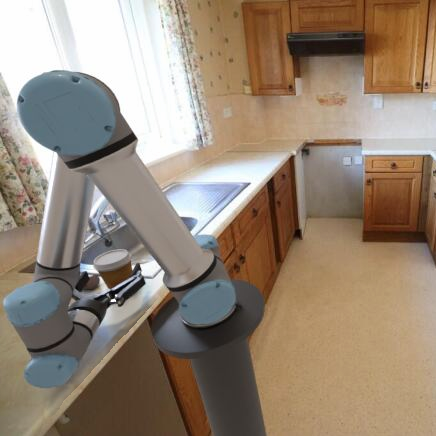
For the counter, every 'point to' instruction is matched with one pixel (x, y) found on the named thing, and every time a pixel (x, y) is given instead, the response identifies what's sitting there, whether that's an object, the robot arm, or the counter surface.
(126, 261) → the disposable coffee cup
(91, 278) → the brown rounded cylinder
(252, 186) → the counter surface
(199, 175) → the counter surface
